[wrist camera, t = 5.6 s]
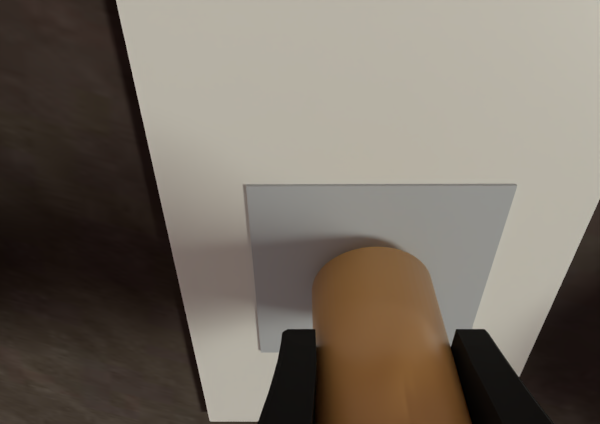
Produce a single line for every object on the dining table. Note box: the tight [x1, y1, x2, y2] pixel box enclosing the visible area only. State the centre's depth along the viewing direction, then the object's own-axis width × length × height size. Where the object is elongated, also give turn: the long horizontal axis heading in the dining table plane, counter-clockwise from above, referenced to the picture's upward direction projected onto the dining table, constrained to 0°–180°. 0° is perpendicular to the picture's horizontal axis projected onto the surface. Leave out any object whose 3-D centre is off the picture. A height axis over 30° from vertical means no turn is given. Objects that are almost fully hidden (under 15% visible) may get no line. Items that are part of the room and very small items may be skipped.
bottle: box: [312, 247, 472, 424], centre depth 10 cm, size 3×3×7 cm
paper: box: [116, 0, 600, 421], centre depth 13 cm, size 14×10×1 cm
